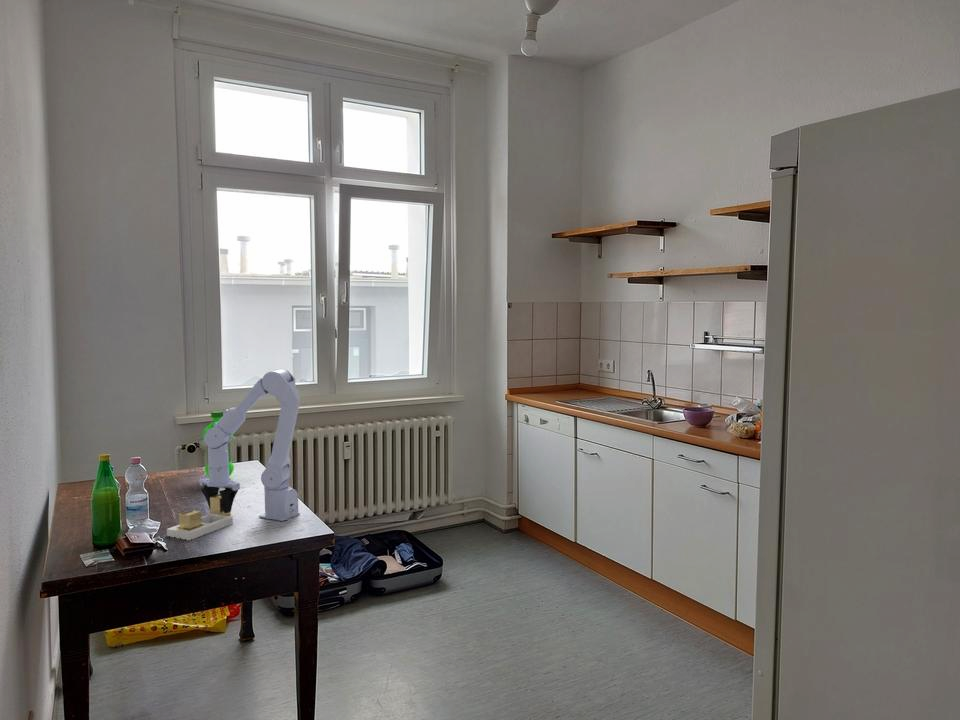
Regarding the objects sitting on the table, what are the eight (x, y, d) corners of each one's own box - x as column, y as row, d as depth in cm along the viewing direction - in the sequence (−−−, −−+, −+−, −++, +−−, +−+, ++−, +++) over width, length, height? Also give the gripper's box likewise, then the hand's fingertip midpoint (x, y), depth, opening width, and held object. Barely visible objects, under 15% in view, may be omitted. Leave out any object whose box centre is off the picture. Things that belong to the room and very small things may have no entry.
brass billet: (230, 514, 205) (229, 494, 205) (220, 518, 201) (219, 498, 201) (220, 513, 207) (220, 493, 206) (210, 516, 203) (209, 496, 203)
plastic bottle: (198, 481, 245) (195, 412, 243) (221, 474, 254) (219, 408, 252) (217, 484, 240) (215, 414, 239) (240, 477, 250) (238, 410, 248)
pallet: (232, 523, 196) (232, 516, 196) (189, 540, 182) (188, 533, 182) (211, 519, 200) (211, 513, 200) (167, 536, 186) (166, 528, 186)
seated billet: (201, 532, 189) (200, 510, 188) (190, 536, 185) (189, 514, 185) (191, 530, 191) (190, 509, 190) (179, 534, 187) (178, 513, 187)
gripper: (190, 467, 202) (192, 511, 204) (226, 472, 196) (228, 517, 197) (209, 462, 209) (210, 505, 210) (244, 466, 203) (246, 511, 204)
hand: (220, 511), depth 204 cm, fingers open, 5 cm apart
